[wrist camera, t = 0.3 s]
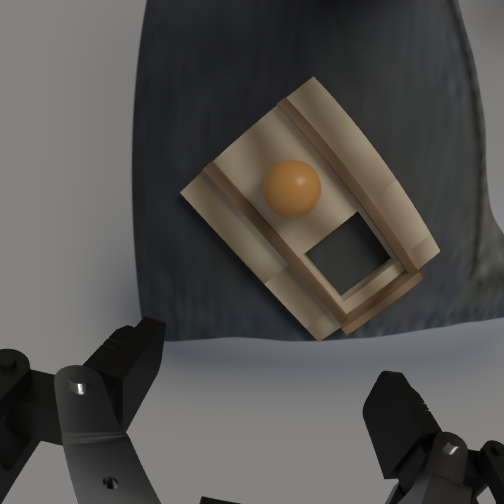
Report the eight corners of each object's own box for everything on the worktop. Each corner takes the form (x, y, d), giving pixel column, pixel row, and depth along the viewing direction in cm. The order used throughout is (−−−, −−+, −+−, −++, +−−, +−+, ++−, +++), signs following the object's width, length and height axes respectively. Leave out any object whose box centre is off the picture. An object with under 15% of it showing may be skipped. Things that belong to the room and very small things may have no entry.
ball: (293, 147, 27) (296, 147, 22) (328, 188, 28) (337, 197, 23) (253, 181, 28) (247, 189, 24) (287, 221, 29) (288, 236, 25)
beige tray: (312, 79, 26) (315, 71, 23) (434, 246, 30) (448, 257, 27) (184, 190, 31) (173, 196, 27) (317, 334, 35) (320, 352, 32)
